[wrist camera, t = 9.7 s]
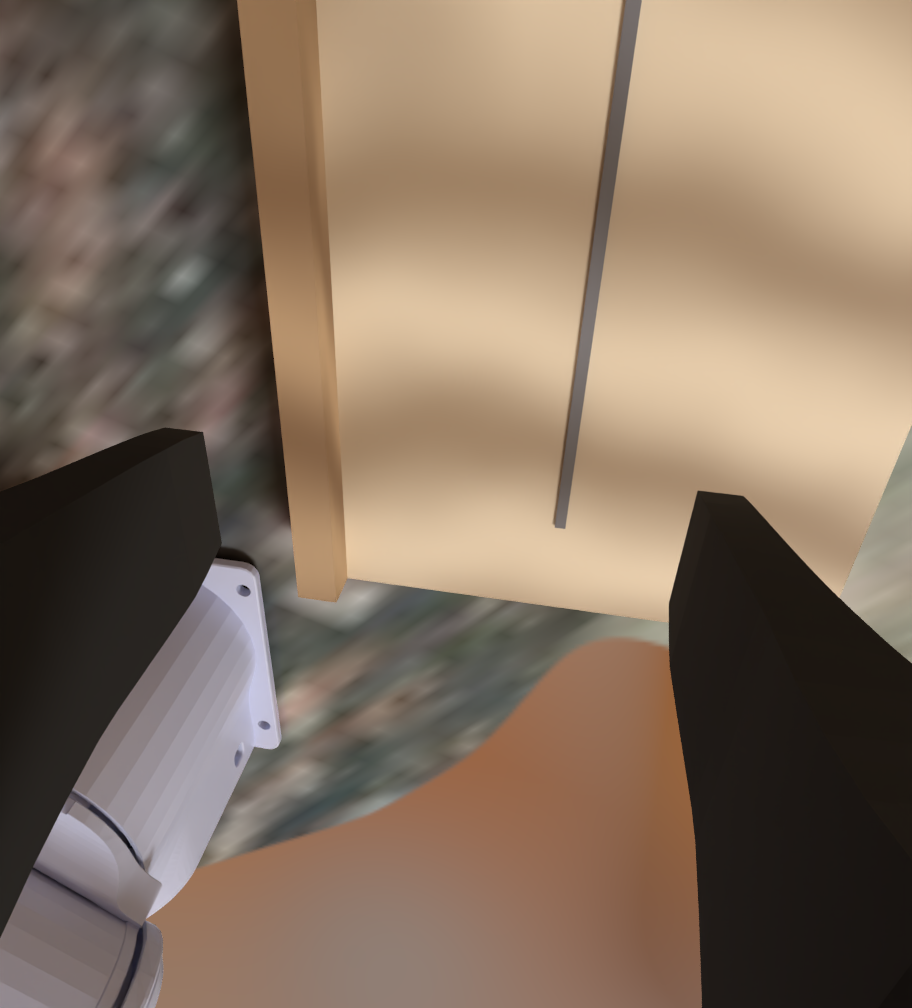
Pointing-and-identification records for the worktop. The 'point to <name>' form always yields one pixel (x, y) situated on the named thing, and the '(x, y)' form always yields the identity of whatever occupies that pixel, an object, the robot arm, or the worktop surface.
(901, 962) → the robot arm
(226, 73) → the worktop surface
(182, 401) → the worktop surface
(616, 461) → the board
